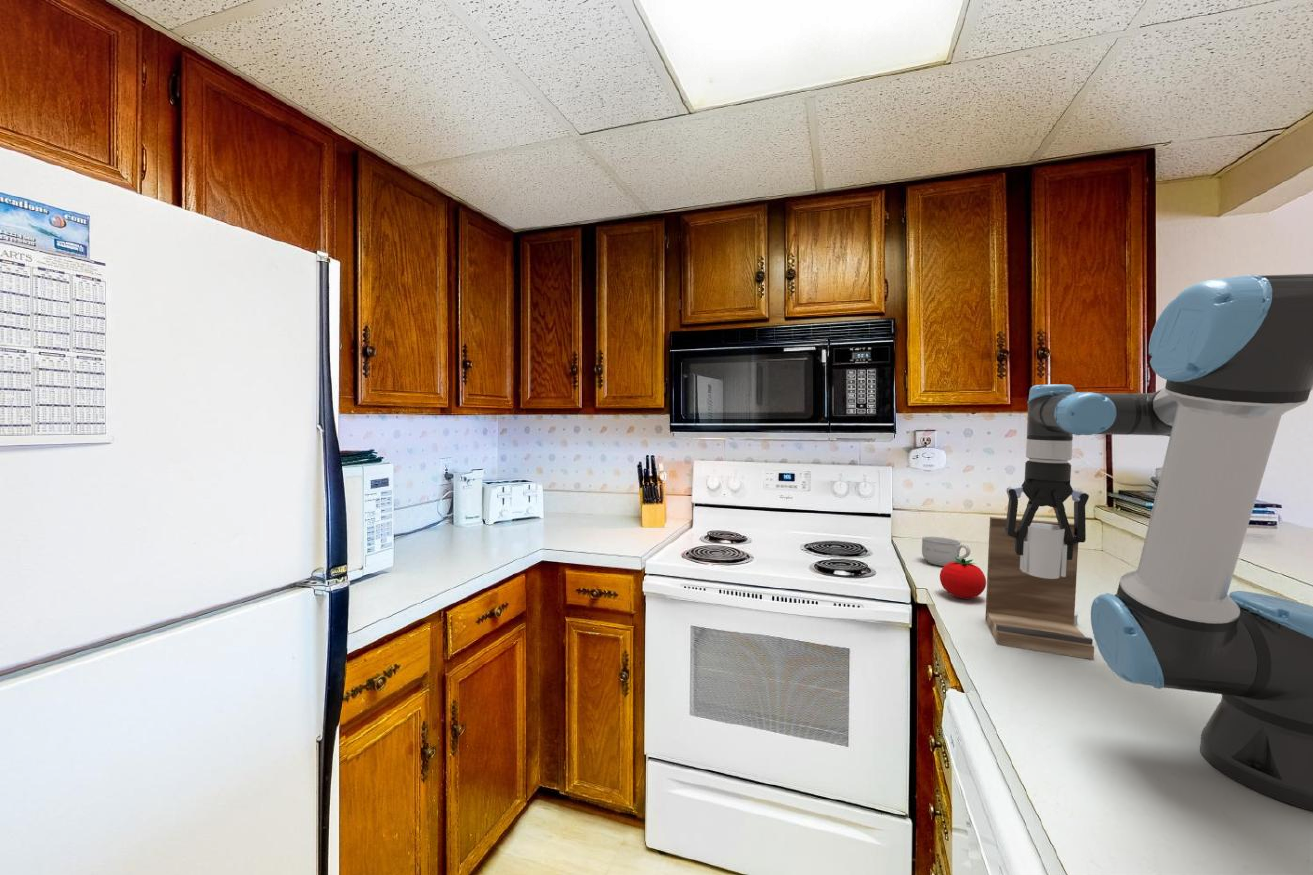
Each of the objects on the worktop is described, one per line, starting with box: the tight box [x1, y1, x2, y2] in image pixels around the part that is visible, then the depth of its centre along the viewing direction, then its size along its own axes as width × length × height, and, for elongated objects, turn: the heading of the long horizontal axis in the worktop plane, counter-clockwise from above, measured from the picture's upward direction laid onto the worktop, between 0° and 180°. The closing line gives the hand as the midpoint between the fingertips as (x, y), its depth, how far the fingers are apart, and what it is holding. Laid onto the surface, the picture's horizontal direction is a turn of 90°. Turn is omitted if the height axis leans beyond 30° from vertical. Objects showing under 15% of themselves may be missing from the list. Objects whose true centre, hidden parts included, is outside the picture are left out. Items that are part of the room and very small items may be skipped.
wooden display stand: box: [984, 516, 1095, 660], centre depth 112 cm, size 14×16×24 cm
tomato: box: [939, 557, 987, 599], centre depth 137 cm, size 10×10×10 cm
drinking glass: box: [1025, 523, 1065, 579], centre depth 109 cm, size 7×7×10 cm
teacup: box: [921, 535, 971, 567], centre depth 166 cm, size 14×11×8 cm
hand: (1042, 572), depth 109 cm, fingers closed on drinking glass, 6 cm apart
